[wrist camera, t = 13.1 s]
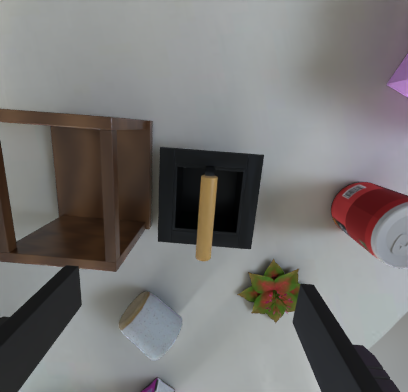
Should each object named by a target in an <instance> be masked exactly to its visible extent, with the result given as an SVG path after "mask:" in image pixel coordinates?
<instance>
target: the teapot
mask: <svg viewBox="0 0 408 392" xmlns="http://www.w3.org/2000/svg"><path fill="white" fill-rule="evenodd" d="M386 85H388V86H389V87H391V88H393V89H394V90H396V91H398V92H399V93H401V94H403V95H404V96H406V97H407V98H408V54H407V55H406V57H405V58H404V60H403V61H402V62H401V64H400V65H399V67H398V68H397V70H396V71H395V73H394V74H393V76H392V77H391V79H390V80H389V81H388V83H387V84H386Z"/></svg>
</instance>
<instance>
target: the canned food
mask: <svg viewBox="0 0 408 392" xmlns="http://www.w3.org/2000/svg"><path fill="white" fill-rule="evenodd" d="M331 214H332V217H333V220H334V222H335V224H336V225H337V226H338V227H339V228H340V229H341V230H343V231H344V232H345V233H346V234H348V235H349V236H350V237H351V238H353V239H354V240H355V241H356V242H357V243H359V244H360V245H361V246H362V247H364V248H365V249H366V250H367V251H369V252H370V253H371V254H372V255H374V256H375V257H376V258H377V259H379V260H380V261H382V262H383V263H385V264H386V265H388V266H391V267H394V268H408V196H407V195H404V194H401V193H398V192H395V191H393V190H390V189H387V188H384V187H381V186H378V185H375V184H372V183H368V182H360V183H354V184H351V185H348V186H346V187H345V188H343V189H342V190H341V191H340V192H339V193H338V194H337V195H336V197H335V198H334V200H333V203H332V207H331Z"/></svg>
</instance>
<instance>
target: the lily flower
mask: <svg viewBox="0 0 408 392" xmlns="http://www.w3.org/2000/svg"><path fill="white" fill-rule="evenodd" d="M298 270H299V269H297V270H294V271H292V272H289V273H287V274H284V271H283V270H282V268H281V267H280V266H279V265H278V264H277V263H275V261H274V259H273V261H272V262H271V264H270V266H268V268H267V269H266V271H265V273H264V276H262V275H258V274H252V273H249V272H248V273H249V276H250V279H251V284H252V286H250V287H249V288H247V289H245V290H244V291H242V292H241V293H239V294H237V295H240V296H241V297H244V298H245V299H246V300H248V301H251V302H254V306H253V309H252V310H253V311H252V313H260V314H265V313H267V314H268V316H269V317H270V318H271V319H272V320H274V321H275V323H276V322H277V321H278V320H279V318H281V317H282V316H283V314H284V312H286V313H287V312H292V311H295V308H296V303H297V298H298V293H299V288H300V284H299V283H298V273H297V272H298ZM287 314H288V313H287Z"/></svg>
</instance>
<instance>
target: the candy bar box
mask: <svg viewBox="0 0 408 392" xmlns="http://www.w3.org/2000/svg"><path fill="white" fill-rule="evenodd" d="M141 392H175V390H174V389H173V388H172V387H171V386H169V385H168V384H166V383H165V382H163V381H162V380H161V379H159V378H156V379H155V380H154V381H153V382H152V383H150V384H149V385H148V386H147V387H146V388H145V389H144V390H143V391H141Z"/></svg>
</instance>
